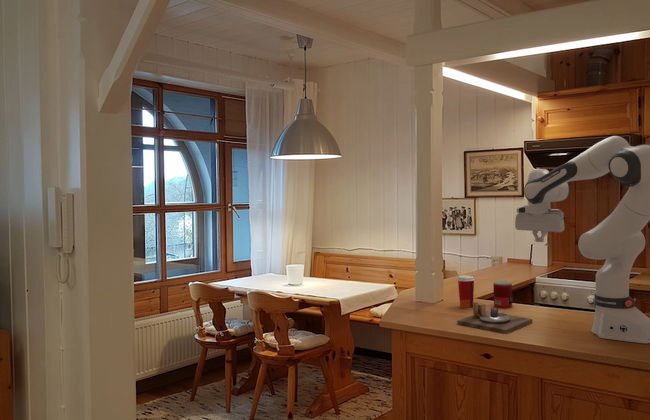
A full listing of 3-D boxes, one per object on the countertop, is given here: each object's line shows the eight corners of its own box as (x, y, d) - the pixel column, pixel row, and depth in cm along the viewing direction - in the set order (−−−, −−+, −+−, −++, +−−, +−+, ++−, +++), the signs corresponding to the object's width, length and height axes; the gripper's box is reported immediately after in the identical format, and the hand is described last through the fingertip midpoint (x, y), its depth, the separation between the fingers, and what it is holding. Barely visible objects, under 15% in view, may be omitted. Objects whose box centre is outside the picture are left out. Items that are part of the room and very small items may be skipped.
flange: (515, 318, 234) (515, 305, 234) (500, 324, 226) (499, 311, 225) (483, 312, 245) (482, 300, 245) (467, 318, 237) (466, 306, 236)
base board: (532, 322, 233) (532, 303, 232) (506, 333, 220) (505, 313, 219) (484, 314, 249) (483, 295, 249) (457, 324, 236) (456, 304, 235)
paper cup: (469, 304, 268) (468, 274, 267) (478, 308, 260) (477, 277, 259) (454, 306, 265) (453, 276, 264) (463, 310, 258) (462, 279, 257)
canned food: (513, 308, 257) (512, 284, 256) (494, 308, 258) (494, 284, 258) (511, 304, 264) (510, 280, 264) (493, 304, 266) (492, 280, 265)
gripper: (567, 208, 235) (567, 242, 236) (520, 207, 250) (521, 239, 251) (559, 209, 231) (560, 244, 232) (512, 208, 246) (513, 241, 247)
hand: (539, 241), depth 242 cm, fingers closed
